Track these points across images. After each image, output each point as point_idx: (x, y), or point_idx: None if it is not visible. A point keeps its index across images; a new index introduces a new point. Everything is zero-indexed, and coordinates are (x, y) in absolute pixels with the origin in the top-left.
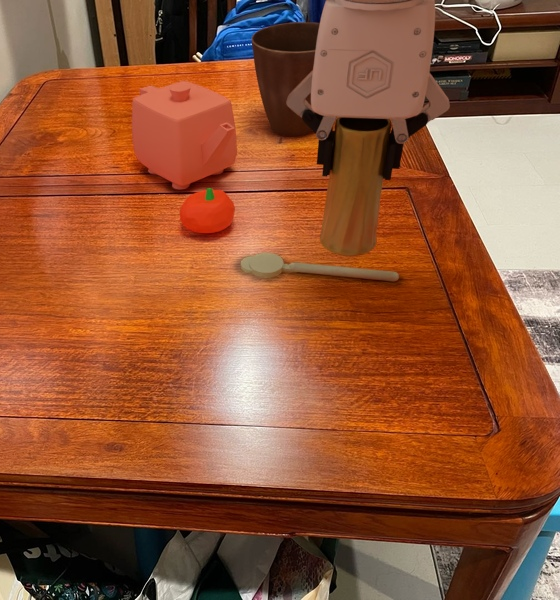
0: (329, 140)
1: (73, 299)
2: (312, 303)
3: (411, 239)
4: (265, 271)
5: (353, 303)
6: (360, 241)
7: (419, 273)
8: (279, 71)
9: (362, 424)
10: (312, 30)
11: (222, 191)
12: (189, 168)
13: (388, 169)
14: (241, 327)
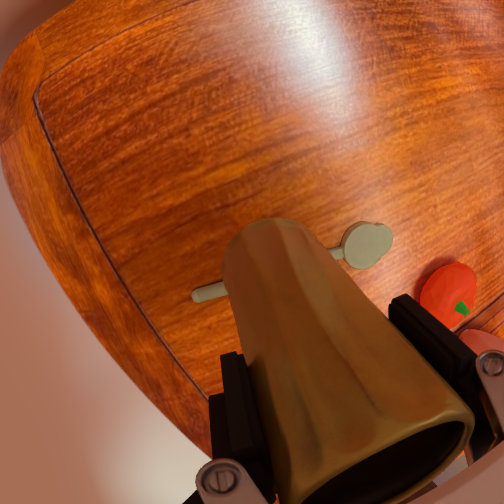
0: (462, 365)
1: (496, 115)
2: (283, 197)
3: (206, 374)
4: (361, 227)
5: (231, 222)
6: (245, 241)
7: (173, 319)
8: (417, 491)
9: (157, 23)
10: None
11: (447, 327)
12: (474, 346)
13: (234, 374)
14: (350, 114)
